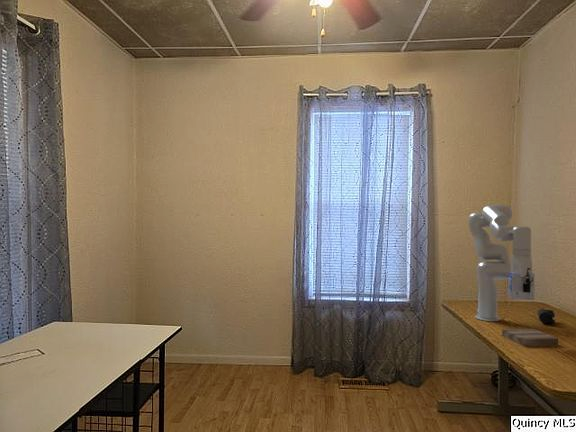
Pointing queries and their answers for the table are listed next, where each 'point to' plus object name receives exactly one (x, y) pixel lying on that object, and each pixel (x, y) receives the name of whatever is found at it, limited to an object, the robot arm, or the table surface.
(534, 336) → the walnut base
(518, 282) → the ink cartridge box
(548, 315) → the end cap
